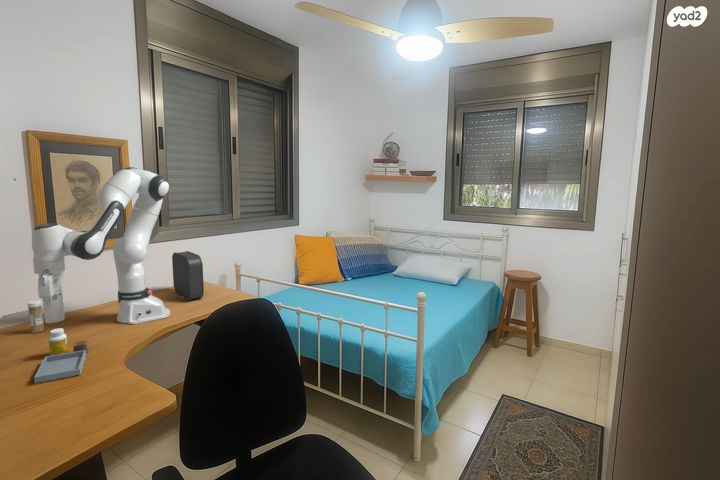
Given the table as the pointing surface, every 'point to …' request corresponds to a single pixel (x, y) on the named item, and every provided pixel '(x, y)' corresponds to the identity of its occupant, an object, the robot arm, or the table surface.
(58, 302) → the cylindrical container
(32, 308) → the sprinkles bottle
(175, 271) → the speaker
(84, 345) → the walnut block
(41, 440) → the table surface
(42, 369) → the tray
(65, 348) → the supplement bottle
